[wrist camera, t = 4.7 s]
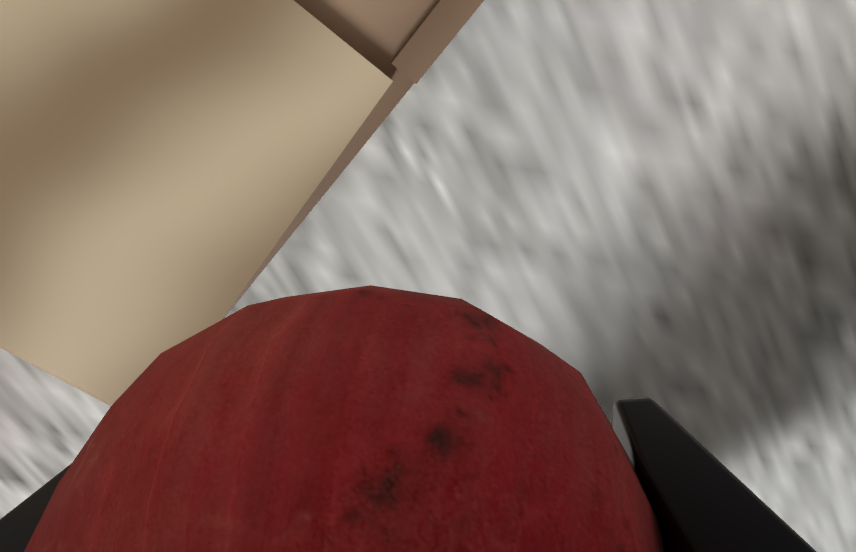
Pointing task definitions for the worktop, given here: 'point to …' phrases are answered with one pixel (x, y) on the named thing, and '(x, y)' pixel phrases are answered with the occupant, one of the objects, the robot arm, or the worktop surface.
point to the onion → (353, 441)
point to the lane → (381, 63)
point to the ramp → (155, 167)
